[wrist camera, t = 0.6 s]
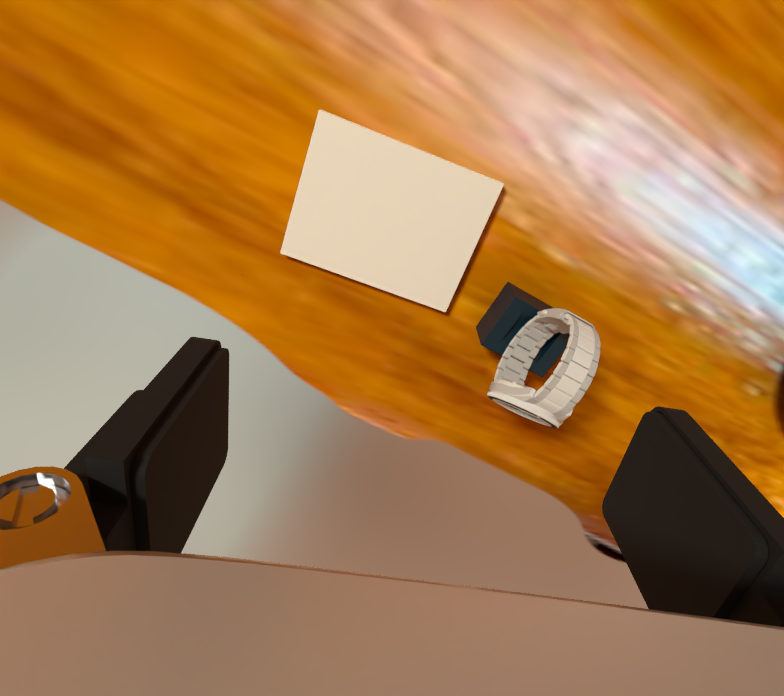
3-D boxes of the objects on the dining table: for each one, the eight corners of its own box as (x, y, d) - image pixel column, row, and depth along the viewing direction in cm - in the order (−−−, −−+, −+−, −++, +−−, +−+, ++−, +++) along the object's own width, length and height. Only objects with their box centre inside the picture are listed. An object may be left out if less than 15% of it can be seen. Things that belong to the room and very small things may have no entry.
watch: (462, 346, 40) (480, 427, 30) (521, 262, 37) (563, 322, 27) (519, 376, 41) (554, 464, 31) (582, 297, 38) (643, 368, 28)
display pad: (502, 182, 34) (504, 184, 33) (444, 308, 38) (445, 312, 38) (320, 109, 32) (319, 109, 32) (282, 250, 37) (280, 253, 36)
